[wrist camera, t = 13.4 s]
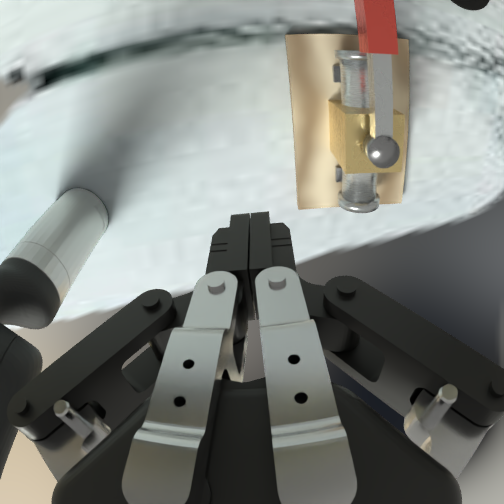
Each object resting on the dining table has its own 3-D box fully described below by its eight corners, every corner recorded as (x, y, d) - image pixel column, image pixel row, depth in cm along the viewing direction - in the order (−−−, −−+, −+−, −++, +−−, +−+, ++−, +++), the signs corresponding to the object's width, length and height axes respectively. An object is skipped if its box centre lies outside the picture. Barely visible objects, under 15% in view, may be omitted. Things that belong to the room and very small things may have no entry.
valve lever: (390, 159, 30) (399, 168, 28) (361, 160, 31) (369, 170, 29) (383, -5, 20) (394, -8, 18) (351, -7, 21) (359, -11, 19)
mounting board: (297, 204, 45) (298, 209, 44) (284, 35, 31) (286, 34, 30) (397, 198, 44) (401, 203, 42) (403, 39, 30) (408, 39, 29)
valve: (330, 194, 42) (343, 225, 36) (325, 49, 31) (342, 51, 25) (374, 191, 42) (395, 222, 35) (377, 51, 31) (405, 55, 24)
